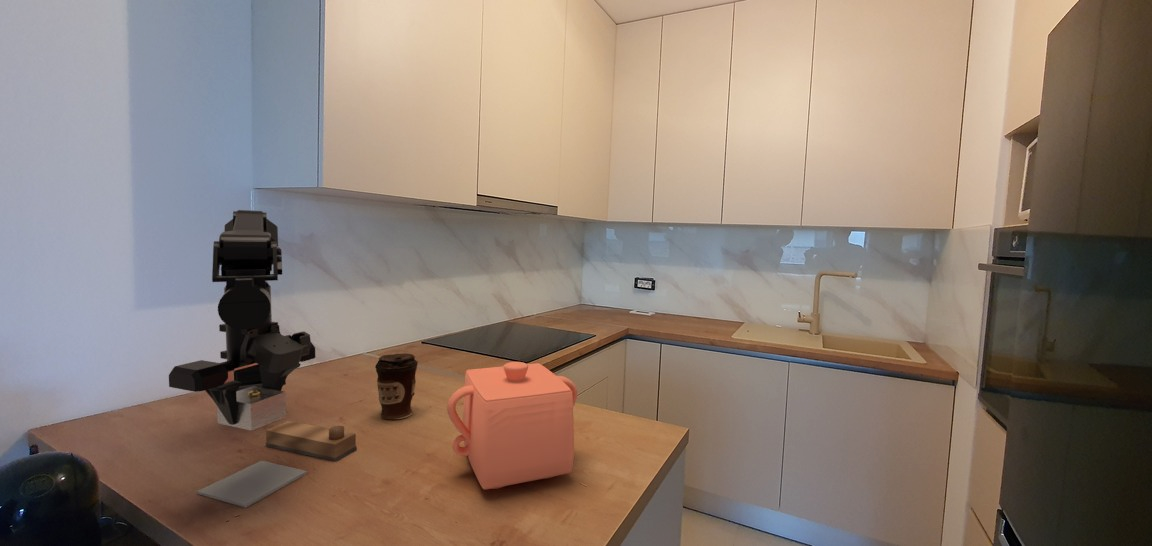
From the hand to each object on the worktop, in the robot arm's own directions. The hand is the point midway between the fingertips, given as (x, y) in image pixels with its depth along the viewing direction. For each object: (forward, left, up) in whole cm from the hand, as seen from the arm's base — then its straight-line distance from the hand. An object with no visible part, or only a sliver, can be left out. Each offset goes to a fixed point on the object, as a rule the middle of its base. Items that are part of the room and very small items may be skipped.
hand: (252, 416), depth 70 cm
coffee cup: (+2, +30, -11) cm, 32 cm away
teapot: (+33, +22, -11) cm, 41 cm away
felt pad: (0, 0, -11) cm, 11 cm away
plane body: (-2, +12, -11) cm, 16 cm away
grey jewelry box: (0, 0, -1) cm, 1 cm away
